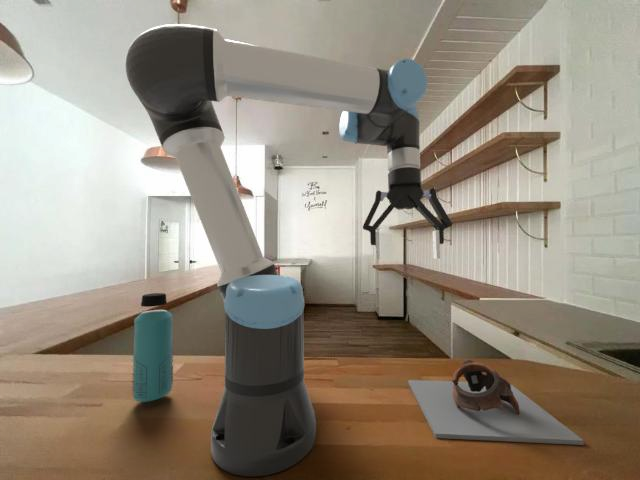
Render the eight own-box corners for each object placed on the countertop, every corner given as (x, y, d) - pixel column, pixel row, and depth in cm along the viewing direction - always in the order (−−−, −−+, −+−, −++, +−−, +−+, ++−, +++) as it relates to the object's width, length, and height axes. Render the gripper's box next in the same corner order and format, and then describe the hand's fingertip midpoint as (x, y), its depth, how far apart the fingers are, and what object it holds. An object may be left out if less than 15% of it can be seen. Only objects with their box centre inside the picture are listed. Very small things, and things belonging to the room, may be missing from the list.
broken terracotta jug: (540, 428, 41) (520, 386, 40) (480, 450, 42) (459, 410, 41) (493, 374, 53) (477, 340, 51) (448, 392, 54) (431, 360, 53)
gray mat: (435, 437, 39) (435, 433, 39) (408, 383, 56) (408, 380, 56) (583, 444, 38) (583, 440, 38) (509, 386, 54) (509, 383, 54)
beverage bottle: (177, 400, 50) (179, 292, 52) (136, 416, 46) (139, 297, 47) (166, 389, 55) (168, 290, 56) (126, 402, 50) (129, 293, 51)
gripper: (452, 172, 67) (456, 257, 66) (352, 177, 71) (353, 259, 69) (464, 162, 60) (469, 258, 59) (351, 168, 63) (353, 259, 62)
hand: (406, 258), depth 64 cm, fingers open, 13 cm apart
